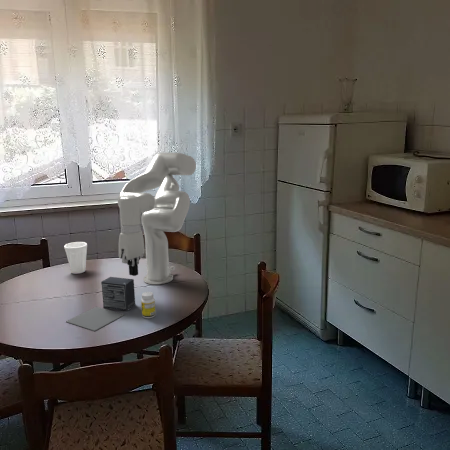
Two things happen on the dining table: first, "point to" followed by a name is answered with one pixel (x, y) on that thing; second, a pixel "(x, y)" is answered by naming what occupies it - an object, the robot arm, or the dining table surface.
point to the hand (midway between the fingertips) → (133, 274)
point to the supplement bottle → (148, 305)
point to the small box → (118, 293)
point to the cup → (76, 256)
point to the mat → (95, 318)
